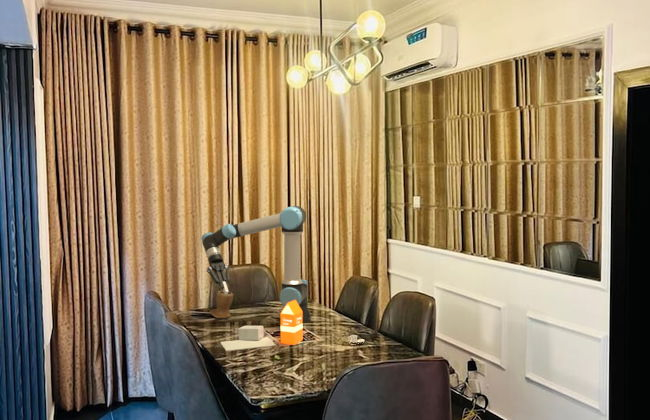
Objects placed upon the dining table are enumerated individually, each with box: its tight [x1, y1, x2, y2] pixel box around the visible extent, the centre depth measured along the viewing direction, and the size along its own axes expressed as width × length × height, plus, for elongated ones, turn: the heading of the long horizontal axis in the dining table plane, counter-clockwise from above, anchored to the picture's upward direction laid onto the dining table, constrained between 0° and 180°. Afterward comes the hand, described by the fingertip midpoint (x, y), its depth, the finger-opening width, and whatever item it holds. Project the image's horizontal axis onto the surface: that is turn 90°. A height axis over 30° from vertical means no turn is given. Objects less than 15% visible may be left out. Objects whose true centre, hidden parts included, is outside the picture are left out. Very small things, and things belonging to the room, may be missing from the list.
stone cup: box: [209, 290, 234, 319], centre depth 333 cm, size 15×12×15 cm
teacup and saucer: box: [347, 334, 365, 343], centre depth 278 cm, size 9×8×4 cm
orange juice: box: [280, 300, 304, 346], centre depth 280 cm, size 8×9×20 cm
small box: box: [238, 325, 265, 340], centre depth 286 cm, size 8×6×10 cm
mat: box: [219, 336, 277, 352], centre depth 277 cm, size 24×15×1 cm, turn 111°
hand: (226, 293), depth 296 cm, fingers closed
